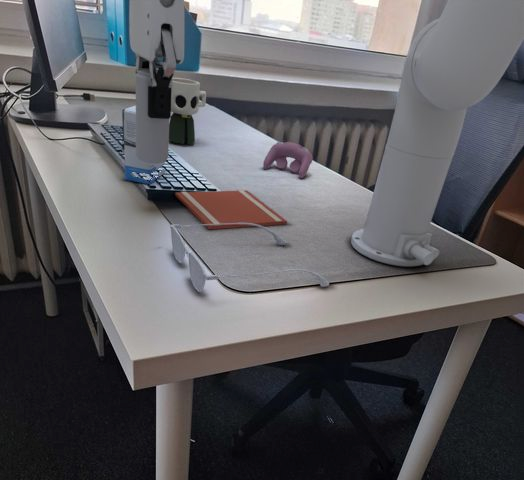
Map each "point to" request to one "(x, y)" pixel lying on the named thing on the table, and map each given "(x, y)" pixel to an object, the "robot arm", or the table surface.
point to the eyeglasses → (200, 276)
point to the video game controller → (293, 151)
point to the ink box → (130, 151)
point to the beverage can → (149, 125)
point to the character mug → (184, 109)
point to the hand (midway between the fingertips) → (152, 111)
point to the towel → (229, 209)
